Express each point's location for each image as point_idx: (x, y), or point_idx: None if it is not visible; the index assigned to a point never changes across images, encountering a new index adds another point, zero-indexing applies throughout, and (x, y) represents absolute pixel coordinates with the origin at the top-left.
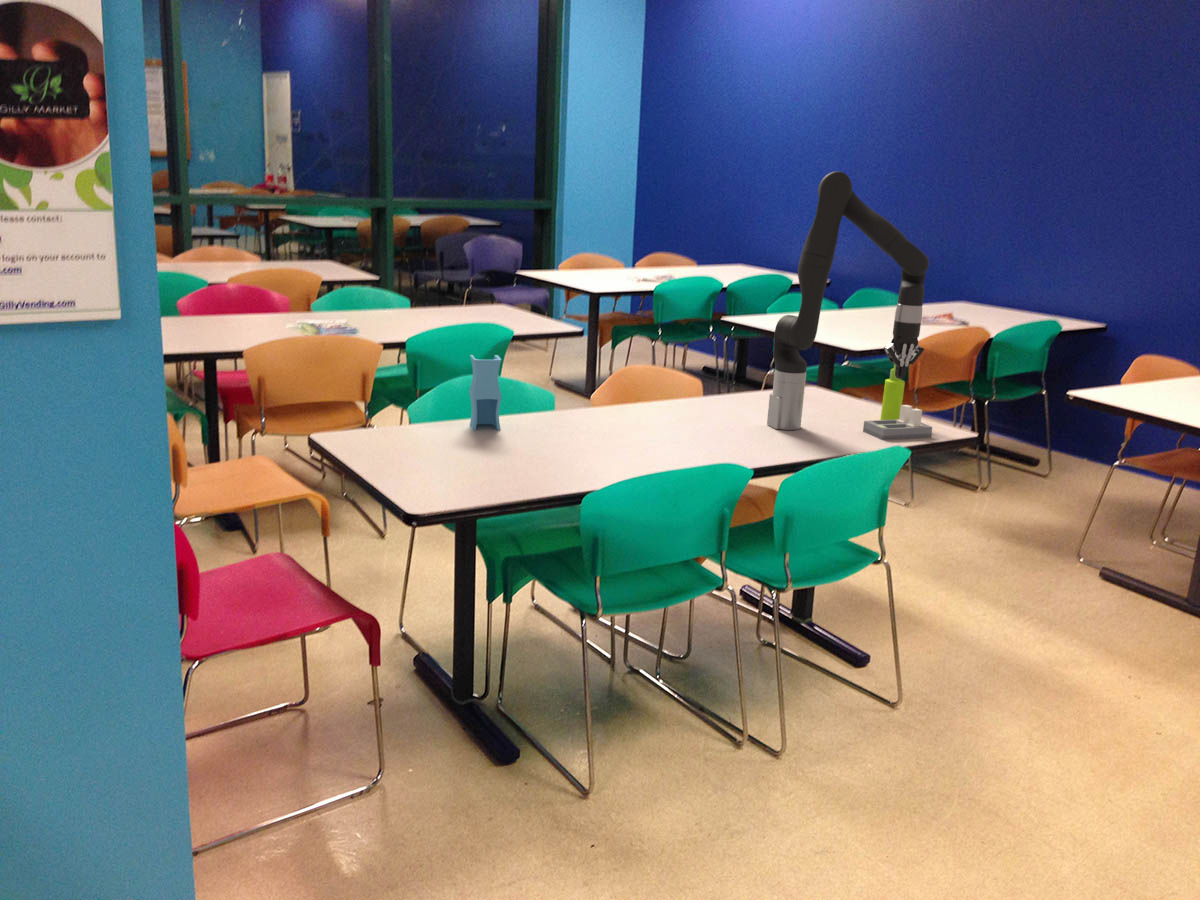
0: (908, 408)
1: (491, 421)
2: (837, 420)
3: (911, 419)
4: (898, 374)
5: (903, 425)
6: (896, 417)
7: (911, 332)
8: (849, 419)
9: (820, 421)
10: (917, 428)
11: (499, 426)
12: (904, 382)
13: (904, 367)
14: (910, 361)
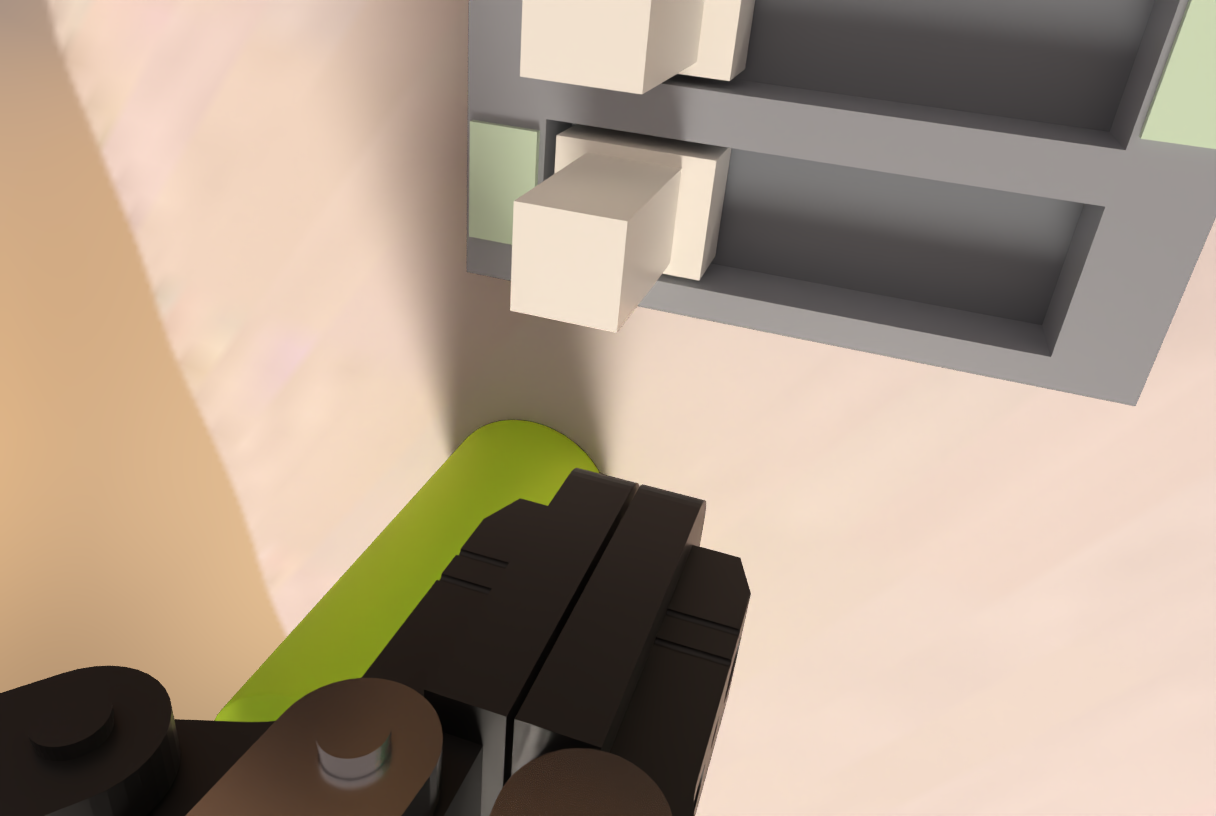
0: (584, 206)
1: None
2: (978, 714)
3: (687, 15)
4: (723, 602)
5: (752, 93)
6: (507, 451)
7: None
8: (833, 686)
9: (1186, 765)
10: None
11: None
12: (241, 696)
13: (484, 687)
14: (115, 796)
